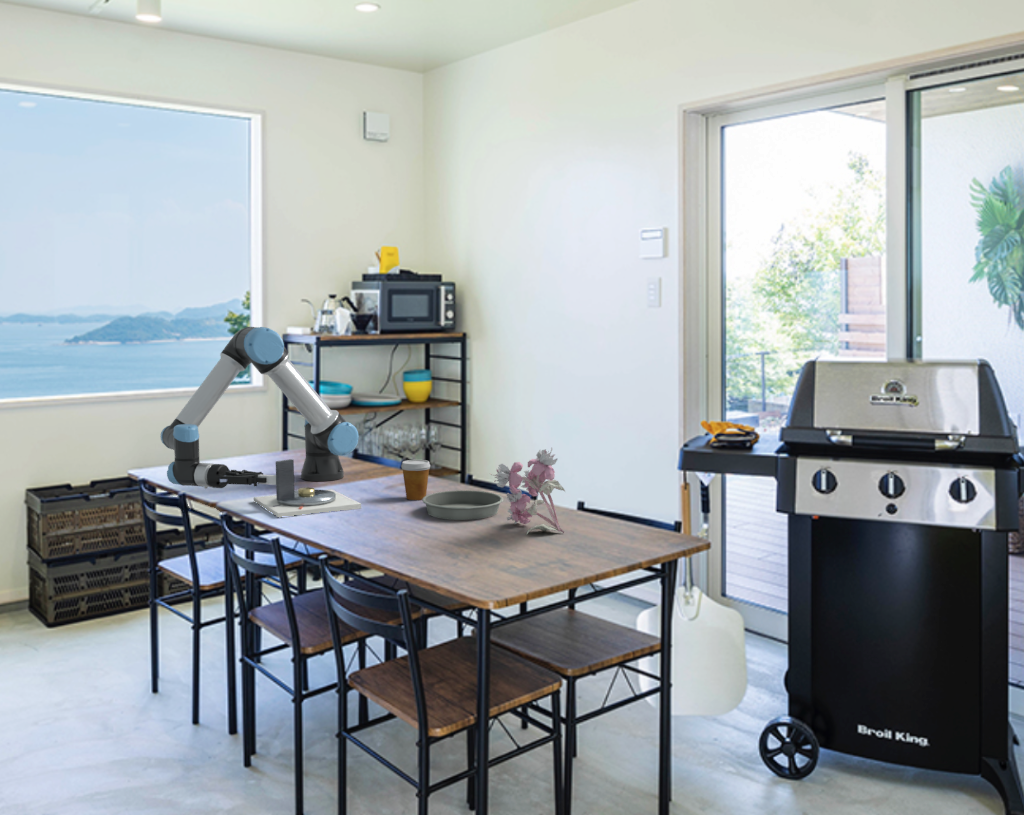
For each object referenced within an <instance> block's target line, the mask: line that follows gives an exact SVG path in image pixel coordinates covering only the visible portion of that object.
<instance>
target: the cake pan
mask: <svg viewBox="0 0 1024 815" xmlns="http://www.w3.org/2000/svg"><path fill="white" fill-rule="evenodd" d="M421 501H422V502H423V504H425V506H426V510H427V514H428V515H429V516H432V517H433V518H438V519H443V520H454V521H456V520H457V521H459V520H460V521H461V520H463V521H466V520H478V519H479V520H481V519H485V518H490V517H493V516H495V515H497V514H498V512H499V507H500V504H501V503H503V501H504V498H503V496H501V495H500V494H498V493H494V492H489V491H481V490H469V489H468V490H465V489H462V490H461V489H460V490H447V491H438V492H433V493H430V494H426V496H425V497H423V499H422V500H421Z"/></svg>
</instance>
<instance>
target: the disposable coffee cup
mask: <svg viewBox="0 0 1024 815" xmlns="http://www.w3.org/2000/svg"><path fill="white" fill-rule="evenodd" d="M400 467H401V470H402V475H403V482H404V489H405V490H404V491H405V497H406V498H405V499H407V500H409V501H422V499H423V497H425V496H427V491H428V481H429V474H430V472H429V471H430V468H431V464H430V461H429V460H426V459H409V460H408V459H407V460H403V461H402V463H401V466H400Z"/></svg>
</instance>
